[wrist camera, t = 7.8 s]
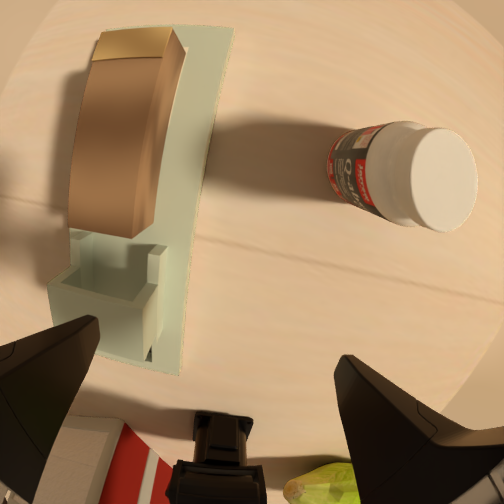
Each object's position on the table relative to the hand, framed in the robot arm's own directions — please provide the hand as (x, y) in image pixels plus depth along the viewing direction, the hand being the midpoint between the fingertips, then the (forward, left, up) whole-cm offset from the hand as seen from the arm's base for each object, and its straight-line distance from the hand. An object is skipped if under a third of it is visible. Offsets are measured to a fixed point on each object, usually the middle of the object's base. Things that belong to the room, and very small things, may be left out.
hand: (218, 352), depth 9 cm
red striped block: (-36, +14, -12) cm, 41 cm away
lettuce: (-34, -22, -12) cm, 43 cm away
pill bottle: (+8, -8, -12) cm, 17 cm away
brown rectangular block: (+7, +8, -10) cm, 15 cm away
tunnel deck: (+2, +8, -12) cm, 14 cm away
